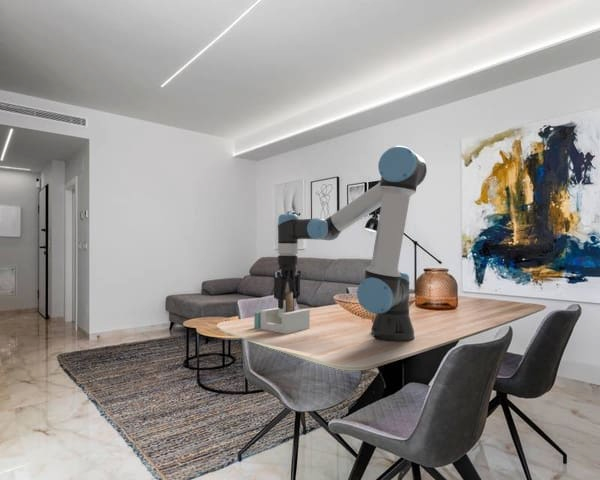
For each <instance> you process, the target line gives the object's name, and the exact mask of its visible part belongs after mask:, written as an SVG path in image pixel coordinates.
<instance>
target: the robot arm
mask: <svg viewBox="0 0 600 480" xmlns="http://www.w3.org/2000/svg"><path fill="white" fill-rule="evenodd" d="M377 166H378V168H377V169H378V172H379V175H380V180H379V182H378V183H377V184H376V185H374V186H372V187H371V188H370V189H368V190H366V191H365V192H363V193H362V194H361V195H359V196H358V197H357V198H355V199H354V200H352V201H351V202H349V203H348V204H346V205H345V206H343V207H342V208H340V209H339V210H338V211H336V212H335V213H333V214H331V215H330V216H328V217H327V218H326V219H324V218H318V217H314V218H305V219H303V218H302V219H301V218H299V216H298V215H297V214H294V213H283V214H280V215H279V216H278V222H277V254H278V256H277V265H278V266H279V267H278V270H277V271H273V279H274V280H273V281H274V282H273V285H274V286H273V298H274V299H275V300H277V308H279V317H282V313H286V300H284V296H285V292H287V291H286V290H287V286H288V292H293V311H297V310H296V309H297V308H296V307H297V299H299V297H300V295H301V275H302V274H301V273H302V272H301V270H298V269H297V267H296V266H297V265H298V256H297V255H298V251H299V249H298V248H299V247H298V245H299V244H298V243H299V242H298V241H299V240H315V241H316V240H319V241H320V240H323V241H333V240H334V241H335V240H336V239H337V238H338V237H339V236H340V234H341V233H342V232H344V231H345V230H347V229H349V227H351V226H353V225H354V224H355V223H357V222H359V221H360V220H362V219H364V218H365V217H367V216H368V215H370V214H371V213H372V212H374V211H376V210H378V209H379V208H380V210H379V216H378V223H377V228H376V233H375V240H374V245H373V252H372V256H371V257H372V258H371V264H370V265H369V266H367V267H366V268H365V271H364V276H363V280H362V281H361V282H360V284H358V287H357V289H356V290H357V291H356V295H357V300H358V303H359V305H360V306H361V307H362V309H364V310H365V312H368V313H371V314H375V317H374V319H373V322H372V326H371V329H370V331H371V332H370V334H371V335H373V336H372V337H373V338H375V339H378V340H382V341H395V342H401V341H403V342H404V341H410V340H413V339H414V338H415V329H414V326H413V323H412V321H411V317H410V276H409V274H408V273H406V272H400V271H399V269H398V268H399V262H400V257H401V251H402V244H403V238H404V233H405V229H406V228H405V227H406V223H407V222H406V221H407V216H408V209H409V203H410V200H411V196H413V195H414V194H416V193H417V187H418V186H419V185H421V184H422V183H423V181H425V179H426V175H427V164H426V162H425V160H424V158H422V157H421V156H420V155H418V154H417V153H416V152H415V151H414V150H413V149H412V148H409V147H406V146H402V145H394V146H392V147H390V148H388V149H387V150H386V151H384V152H383V153H382V154H381V156H380V158H379V161H378V165H377Z"/></svg>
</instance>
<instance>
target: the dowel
mask: <svg viewBox="0 0 600 480" xmlns="http://www.w3.org/2000/svg"><path fill="white" fill-rule="evenodd" d="M284 300H286V313H287V312H292V311H293V292H290V291H285V296H284ZM281 321H282V317H281Z"/></svg>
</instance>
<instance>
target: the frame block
mask: <svg viewBox="0 0 600 480" xmlns="http://www.w3.org/2000/svg"><path fill="white" fill-rule="evenodd" d="M260 311H261V328H260V330H262V331H263V330H264V331H269V332H276V333H278V334H279V333H281V334H285V335H287V334H292V333H296V332H300V331H303V330H306V329H307V330H308V329H310V325H311V324H310V322H311V318H310V313H311V312H310V311H311V310H310V309H307V308H303V309H298V310H295V311H292V312H287V313H282V321H281V317H279V308H278V307H274V308H267V309H262V310H260Z"/></svg>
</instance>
